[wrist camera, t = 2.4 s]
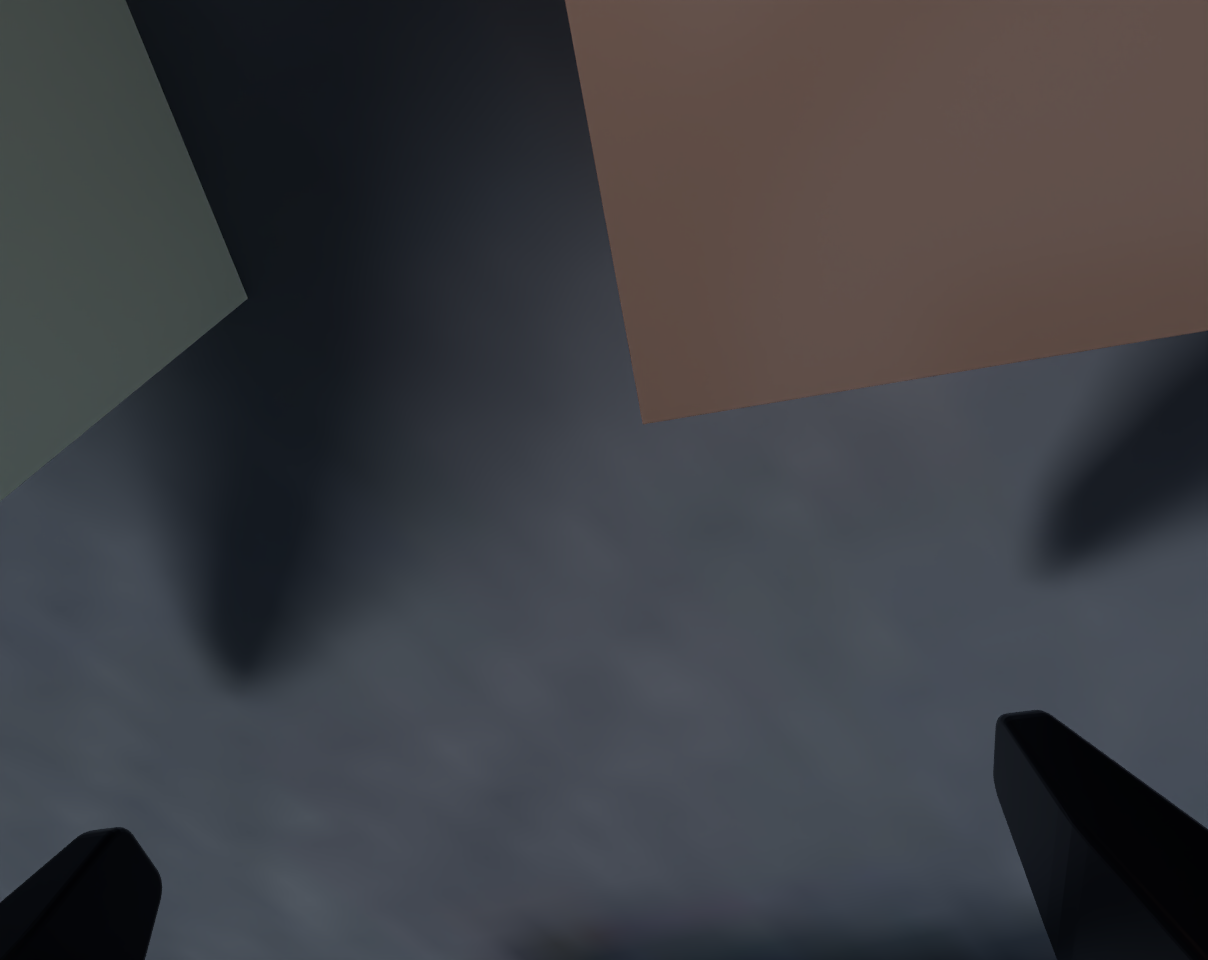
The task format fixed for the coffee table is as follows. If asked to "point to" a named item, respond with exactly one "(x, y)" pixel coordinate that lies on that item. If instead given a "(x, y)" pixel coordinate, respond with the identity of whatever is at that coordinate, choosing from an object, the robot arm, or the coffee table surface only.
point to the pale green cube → (92, 228)
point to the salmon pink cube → (892, 186)
